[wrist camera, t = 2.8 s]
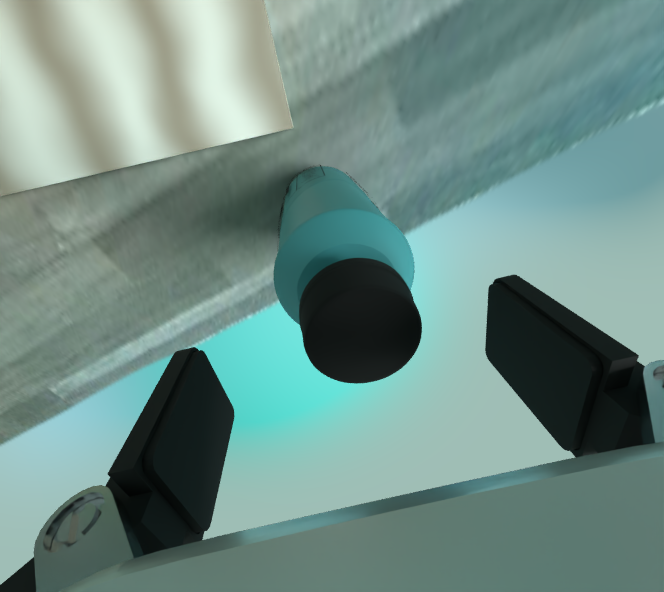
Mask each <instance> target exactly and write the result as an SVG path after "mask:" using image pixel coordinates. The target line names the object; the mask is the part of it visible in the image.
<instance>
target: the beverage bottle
mask: <svg viewBox="0 0 664 592" xmlns="http://www.w3.org/2000/svg"><path fill="white" fill-rule="evenodd" d="M303 171H304V172H302V173H300V175H298V176H297V177H296V178H295V179H294V181H293V182H292V183H291V185H290V184H289V185H290V186H288V188H287V191H286V197H285V196H284V197H285V203H284V210H283V216H282V222H281V228H280V227H279V228H280V237H279V238H280V241H279V249H278V254H277V257H276V260H275V266H274V286H275V290H276V294H277V296H278V299H279V301H280V303H281V305H282V306H283V308H284V310H285V311H286V312H287V313H288V315H289V316H290V317H291V318H292V319H293V320H294V321H295V322H297V323H298V324H299V325H300V327H301V331H302V335H303V342H304V347H305V351H306V353H307V355H308V357H309V359H310V361H311V363H312V364H313V365H314V366H315V368H316V369H318V370H319V371H320V372H321V373H323V374H324V375H326V376H328V377H330V378H332V379H334V380H337V381H341V382H346V383H367V382H373V381H377V380H380V379H383V378H386V377H388V376H390V375H392V374H393V373H395V372H396V371H398V370H399V369H401V368H402V367H403V366H404V365H405V364H406V363H407V362H408V361H409V360H410V359H411V358H412V356H413V355H414V353H415V352H416V350H417V348H418V345H419V343H420V339H421V333H422V323H421V317H420V314H419V311H418V309H417V307H416V305H415V303H414V301H413V297H412V294H411V291H410V290H411V287H412V283H413V279H414V259H413V254H412V251H411V248H410V245H409V243H408V241H407V239H406V238H405V236H404V235H403V233H402V232H401V231H400V230H399V229H398V228H397V227H396V226H395V224H393V223H392V222H391V221H390V220H388V219H387V218H386V217H385V216H384V215H383V214H382V213H381V212H380V211H379V210H378V209H377V207H376V206H375V204H376V203H375V204H374V203H373V202H372V201H371V200H370V199H369V198H368V197H367V196H366V194H365V192H364V191H365V190H364V191H362V190H363V189H362V190H361V189H360V188H359V187H358V186H357V185H356V184H355V183H356V182H355V181H354V182H355V183H354V182H353V181H352V180H351V179H350V178H349V176H347V175H346V174H345V173H343V172H342V171H340V170H338V169H335V168H332V167H325V166H321V165H320V167H316V166H315V167H314V166H313V168H310V169H308V170H306V171H305V170H303ZM346 173H347V172H346ZM347 174H348V173H347ZM359 186H360V185H359ZM360 187H361V186H360ZM284 194H285V193H284ZM367 195H368V194H367ZM371 198H372V197H371ZM282 204H283V203H282ZM282 209H283V205H282V208H281V212H282ZM279 219H281V213H280V218H279ZM278 224H279V223H278ZM279 228H278V229H279ZM278 235H279V234H278ZM277 248H278V247H277Z"/></svg>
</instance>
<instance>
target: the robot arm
mask: <svg viewBox="0 0 664 592" xmlns="http://www.w3.org/2000/svg"><path fill="white" fill-rule="evenodd" d="M485 351H486V355H487V357H488V360H489V361H490V362H491V363H492V365H493V366H494V367H495V368H496V369H497V371H498V372H499V373H500V374H501V375H502V377H503V378H504V379H505V380H506V381H507V383H508V384H509V385H510V386H511V387H512V389H513V390H514V391H515V392H516V393H517V394H518V396H519V397H520V398H521V399H522V401H523V402H524V403H525V404H526V405H527V407H528V408H529V409H530V410H531V411H532V412H533V414H534V415H535V416H536V417H537V419H538V420H539V421H540V422H541V423H542V425H543V426H544V427H545V428H546V429H547V431H548V432H549V433H550V434H551V435H552V437H553V438H554V439H555V440H556V441H557V443H558V444H559V445H560V446H561V447H562V448H563V449H564V450H567V451H571V452H572V453H573V455H574V456H575V457H576V458H571V459H566V460H562V461H557V462H552V463H547V464H543V465H538V466H534V467H529V468H525V469H520V470H515V471H510V472H506V473H501V474H497V475H492V476H487V477H482V478H478V479H473V480H469V481H464V482H459V483H454V484H450V485H445V486H441V487H436V488H432V489H427V490H423V491H418V492H413V493H409V494H405V495H400V496H395V497H391V498H386V499H382V500H377V501H373V502H369V503H364V504H359V505H355V506H350V507H346V508H341V509H337V510H332V511H328V512H324V513H319V514H314V515H310V516H305V517H302V518H297V519H292V520H288V521H283V522H280V523H275V524H271V525H266V526H261V527H257V528H253V529H248V530H244V531H239V532H235V533H230V534H227V535H222V536H218V537H214V538H210V539H206V540H202V539H203V534H204V531H207V530H208V529H209V527H210V524H211V520H212V516H213V511H214V506H215V502H216V498H217V493H218V488H219V484H220V479H221V475H222V470H223V466H224V461H225V457H226V452H227V448H228V443H229V439H230V434H231V430H232V425H233V421H234V409H233V406H232V404H231V402H230V400H229V398H228V397H227V395H226V393H225V391H224V389H223V387H222V385H221V383H220V381H219V379H218V378H217V375H216V373H215V372H214V370H213V368H212V366H211V364H210V362H209V360H208V358H207V356H206V354H205V353H204V352H203V351H202V350H200V351H199V350H198V349H197V348H195V347H193V348H189V349H184V350H180V351H177V352H175V353H174V355H173V357H172V358H171V360H170V362H169V364H168V366H167V367H166V369H165V371H164V373H163V375H162V376H161V378H160V380H159V382H158V384H157V385H156V387H155V389H154V391H153V393H152V395H151V397H150V398H149V400H148V402H147V404H146V406H145V407H144V409H143V411H142V413H141V414H140V416H139V418H138V420H137V422H136V424H135V425H134V427H133V429H132V431H131V432H130V434H129V436H128V438H127V440H126V442H125V443H124V445H123V447H122V449H121V451H120V452H119V454H118V456H117V458H116V460H115V461H114V463H113V465H112V467H111V469H110V470H109V472H108V475H109V476H110V479H109V481H108V482H107V484H106V486H102V485H100V486H93V487H90V488H88V489H85V490H83V491H81V492H79V493H78V494H76V495H74V496H73V497H71V498H70V499H69V500H67V501H66V502H65V503H64V504H63V505H62V506H60V507H59V508H58V509H57V510H56V511H55V512H54V514H53V515H52V516H51V517H50V518H49V519H48V521H47V522H46V523H45V525H44V526H43V528H42V529H41V531H40V533H39V535H38V537H37V540H36V542H35V548H34V557H33V558H32V559H31V560H30V561H29V562H27V563H26V564H25V565H24V566H23V567H22V568H20V569H19V570H18V571H17V572H16V573H14V574H13V575H12V576H11V577H10V578H8V579H7V580H6V581H5V582H3V583H2V584H1V585H0V592H664V360H658V361H655V362H651V363H649V364H648V365H646V366H643V365H642V364H640V363H639V362H637V359H638V355H637V354H636V353H634V352H633V351H631V350H630V349H628V348H627V347H625V346H624V345H622V344H621V343H619V342H617V341H616V340H615V339H613V338H611V337H610V336H608V335H607V334H605V333H604V332H602V331H601V330H599V329H598V328H596V327H595V326H593V325H592V324H590V323H589V322H587V321H586V320H584V319H583V318H581V317H580V316H578V315H577V314H575V313H574V312H572V311H570V310H569V309H568V308H566V307H564V306H563V305H561V304H560V303H558V302H557V301H555V300H554V299H552V298H551V297H549V296H548V295H546V294H545V293H543V292H542V291H540V290H539V289H537V288H536V287H534V286H533V285H531V284H530V283H528V282H526V281H525V280H523V279H522V278H520V277H519V276H517V275H511V276H506V277H502V278H498V279H495V280H494V282H493V284H491V285H490V286H489V292H488V311H487V329H486V348H485Z"/></svg>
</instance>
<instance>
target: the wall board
mask: <svg viewBox="0 0 664 592" xmlns="http://www.w3.org/2000/svg"><path fill="white" fill-rule="evenodd" d="M291 128H293V123H292V119H291V115H290V110H289V106H288V102H287V97H286V93H285V89H284V84H283V80H282V76H281V72H280V67H279V63H278V59H277V54H276V50H275V46H274V41H273V37H272V33H271V28H270V24H269V20H268V16H267V11H266V7H265V3H264V0H0V196H4V195H8V194H13V193H17V192H21V191H25V190H30V189H34V188H38V187H43V186H47V185H51V184H55V183H60V182H64V181H68V180H73V179H77V178H81V177H85V176H90V175H94V174H98V173H103V172H107V171H111V170H116V169H120V168H124V167H128V166H133V165H137V164H141V163H146V162H150V161H154V160H158V159H163V158H167V157H171V156H176V155H180V154H184V153H188V152H193V151H197V150H201V149H206V148H210V147H214V146H218V145H223V144H227V143H231V142H236V141H240V140H244V139H248V138H253V137H257V136H261V135H266V134H270V133H274V132H278V131H283V130H287V129H291Z"/></svg>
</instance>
